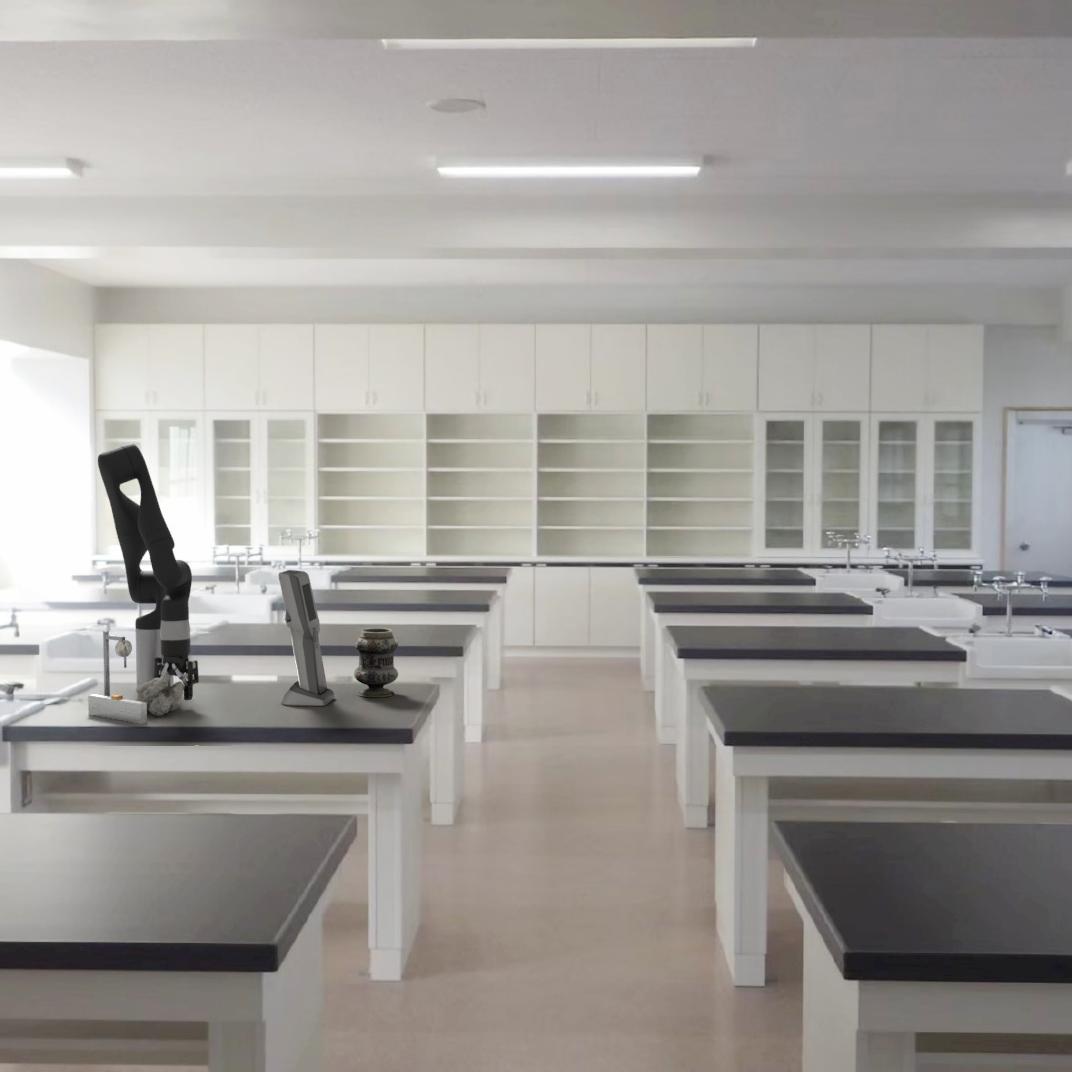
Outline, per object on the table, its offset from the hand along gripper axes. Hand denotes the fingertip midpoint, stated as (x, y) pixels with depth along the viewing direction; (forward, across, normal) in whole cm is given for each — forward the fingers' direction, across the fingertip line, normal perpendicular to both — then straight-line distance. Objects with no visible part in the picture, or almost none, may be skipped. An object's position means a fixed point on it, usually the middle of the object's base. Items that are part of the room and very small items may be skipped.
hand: (176, 698), depth 332 cm
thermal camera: (+3, -25, -23) cm, 34 cm away
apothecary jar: (+3, -33, -41) cm, 53 cm away
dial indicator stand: (+2, +15, +8) cm, 17 cm away
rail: (+2, 0, +19) cm, 19 cm away
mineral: (+2, -2, +7) cm, 8 cm away
